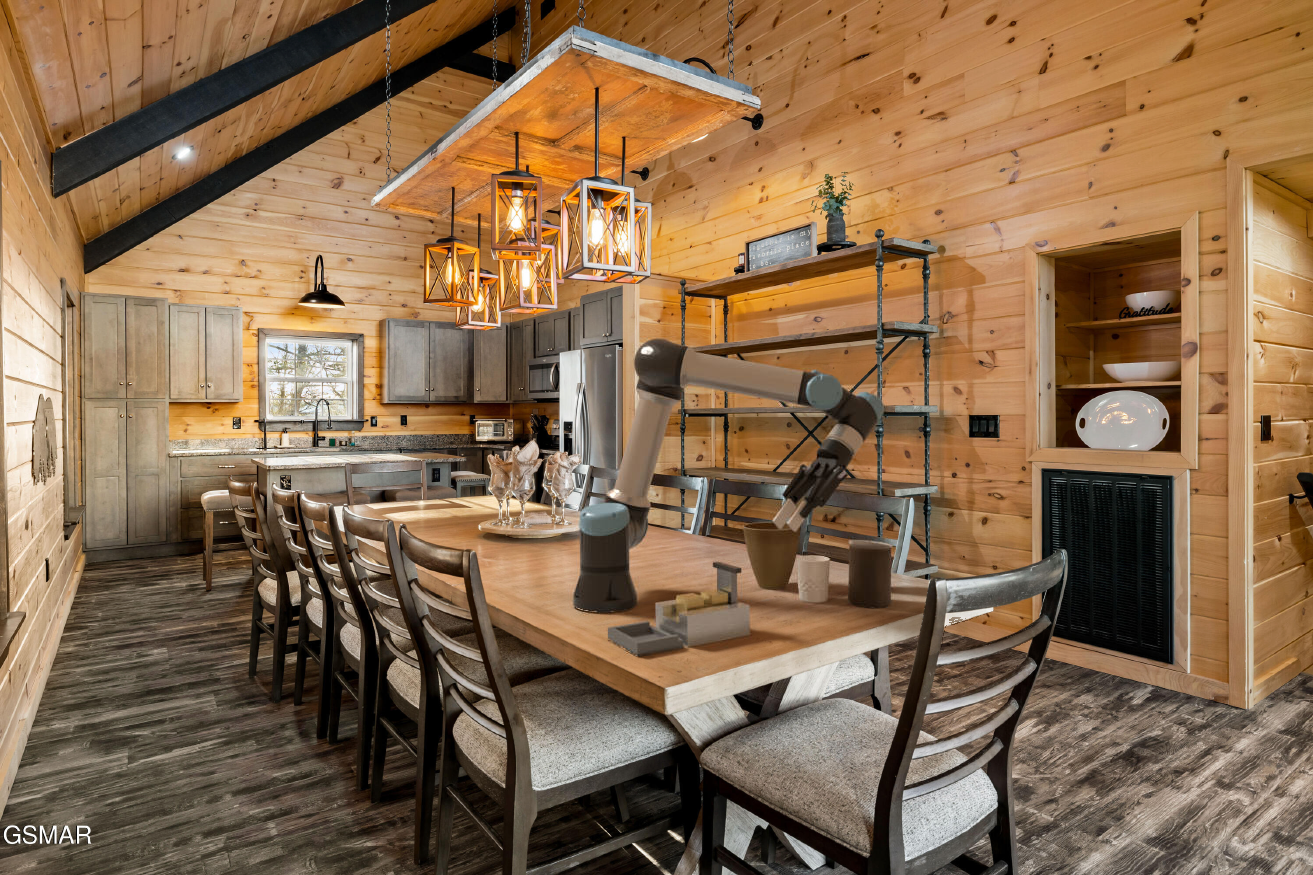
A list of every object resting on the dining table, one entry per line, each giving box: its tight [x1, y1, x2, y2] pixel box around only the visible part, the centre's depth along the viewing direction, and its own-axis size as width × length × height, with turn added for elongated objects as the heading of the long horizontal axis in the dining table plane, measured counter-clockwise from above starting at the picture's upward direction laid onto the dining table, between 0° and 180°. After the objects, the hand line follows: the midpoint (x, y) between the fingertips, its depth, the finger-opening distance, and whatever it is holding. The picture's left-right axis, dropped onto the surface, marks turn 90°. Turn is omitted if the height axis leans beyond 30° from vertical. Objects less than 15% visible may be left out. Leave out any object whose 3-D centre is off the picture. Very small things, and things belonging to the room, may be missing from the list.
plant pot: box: [742, 521, 801, 590], centre depth 190 cm, size 15×15×16 cm
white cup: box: [795, 554, 831, 604], centre depth 175 cm, size 8×8×10 cm
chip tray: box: [607, 620, 684, 657], centre depth 141 cm, size 10×12×2 cm
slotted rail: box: [655, 599, 751, 648], centre depth 148 cm, size 15×12×6 cm
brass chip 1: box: [675, 592, 704, 616], centre depth 147 cm, size 4×4×4 cm
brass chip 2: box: [700, 588, 728, 608], centre depth 150 cm, size 4×4×4 cm
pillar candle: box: [847, 539, 892, 608], centre depth 172 cm, size 10×10×15 cm
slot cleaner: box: [712, 561, 742, 604], centre depth 151 cm, size 2×8×9 cm, turn 31°
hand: (783, 525), depth 159 cm, fingers open, 4 cm apart
